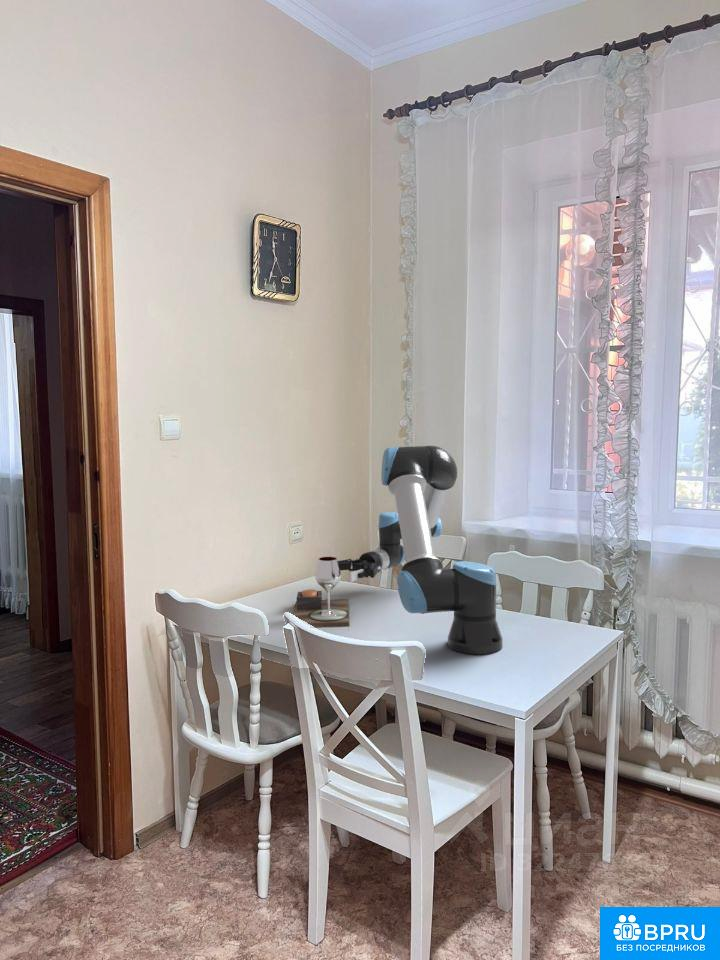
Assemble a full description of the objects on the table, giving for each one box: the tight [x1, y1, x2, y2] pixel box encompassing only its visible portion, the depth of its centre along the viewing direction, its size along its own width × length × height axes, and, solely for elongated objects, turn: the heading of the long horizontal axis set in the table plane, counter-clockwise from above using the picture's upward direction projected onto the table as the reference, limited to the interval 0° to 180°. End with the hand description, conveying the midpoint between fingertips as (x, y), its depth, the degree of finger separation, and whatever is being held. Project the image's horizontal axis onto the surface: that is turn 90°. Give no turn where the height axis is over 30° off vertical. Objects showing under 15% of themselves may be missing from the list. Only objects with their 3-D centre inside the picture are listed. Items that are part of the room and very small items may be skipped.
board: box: [292, 590, 350, 628], centre depth 233 cm, size 26×18×5 cm
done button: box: [301, 589, 318, 597], centre depth 239 cm, size 5×5×3 cm
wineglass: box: [314, 556, 342, 617], centre depth 228 cm, size 8×8×18 cm
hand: (333, 574), depth 230 cm, fingers open, 13 cm apart
